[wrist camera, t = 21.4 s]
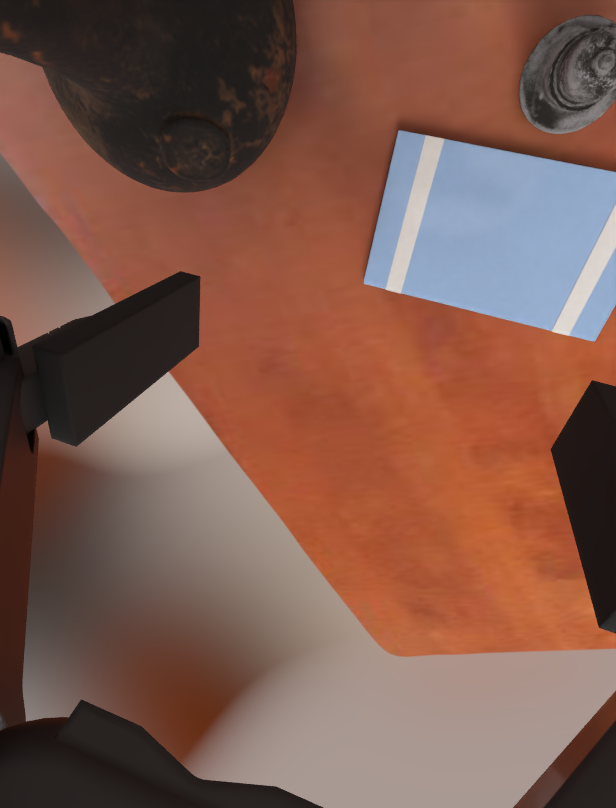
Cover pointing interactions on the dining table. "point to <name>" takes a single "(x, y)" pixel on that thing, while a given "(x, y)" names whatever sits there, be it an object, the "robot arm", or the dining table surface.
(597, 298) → the cloth
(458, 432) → the dining table surface
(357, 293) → the dining table surface
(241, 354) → the dining table surface
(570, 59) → the salt shaker
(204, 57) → the glass bottle
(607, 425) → the robot arm
